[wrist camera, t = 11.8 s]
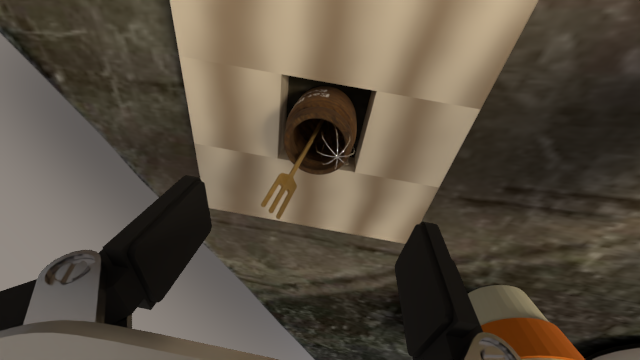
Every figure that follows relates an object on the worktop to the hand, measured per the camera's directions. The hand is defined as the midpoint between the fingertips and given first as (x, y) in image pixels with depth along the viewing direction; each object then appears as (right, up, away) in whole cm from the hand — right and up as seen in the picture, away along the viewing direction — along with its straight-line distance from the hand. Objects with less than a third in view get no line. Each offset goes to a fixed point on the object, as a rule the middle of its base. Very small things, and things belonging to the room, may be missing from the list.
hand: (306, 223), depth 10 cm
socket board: (+1, +8, +12) cm, 15 cm away
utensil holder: (+1, +8, +13) cm, 15 cm away
